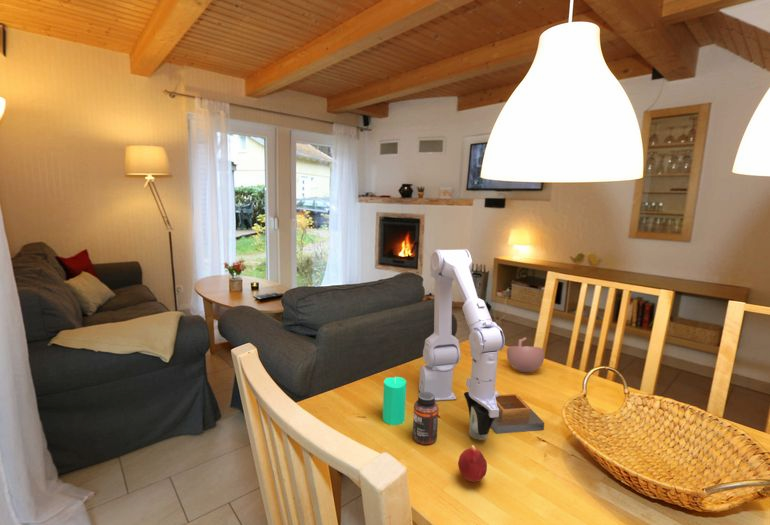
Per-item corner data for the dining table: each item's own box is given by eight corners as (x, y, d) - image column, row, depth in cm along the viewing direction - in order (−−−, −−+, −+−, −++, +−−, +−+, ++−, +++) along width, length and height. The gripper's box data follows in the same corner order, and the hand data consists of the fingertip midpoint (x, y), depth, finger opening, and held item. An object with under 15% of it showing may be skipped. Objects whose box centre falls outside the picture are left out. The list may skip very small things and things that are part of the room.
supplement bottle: (436, 431, 97) (439, 390, 95) (437, 447, 91) (440, 403, 89) (412, 429, 97) (414, 388, 95) (411, 444, 92) (414, 400, 89)
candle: (407, 414, 104) (409, 373, 102) (402, 427, 98) (404, 383, 96) (385, 410, 106) (387, 369, 103) (379, 422, 100) (380, 379, 98)
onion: (490, 480, 81) (493, 446, 79) (476, 495, 77) (480, 459, 75) (466, 466, 85) (468, 434, 83) (451, 480, 80) (454, 446, 79)
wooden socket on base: (496, 433, 97) (497, 417, 96) (475, 405, 109) (477, 391, 109) (543, 430, 99) (545, 414, 98) (518, 402, 112) (519, 388, 111)
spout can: (473, 440, 92) (475, 413, 90) (466, 429, 96) (468, 403, 95) (498, 438, 93) (500, 411, 92) (490, 427, 97) (492, 402, 96)
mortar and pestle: (535, 363, 138) (538, 333, 136) (547, 379, 126) (551, 346, 124) (501, 362, 139) (504, 331, 137) (510, 377, 127) (514, 345, 125)
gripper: (513, 390, 85) (508, 445, 88) (486, 361, 99) (482, 409, 102) (483, 392, 84) (479, 447, 86) (460, 362, 98) (456, 411, 100)
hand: (478, 427), depth 94 cm, fingers closed on spout can, 4 cm apart
